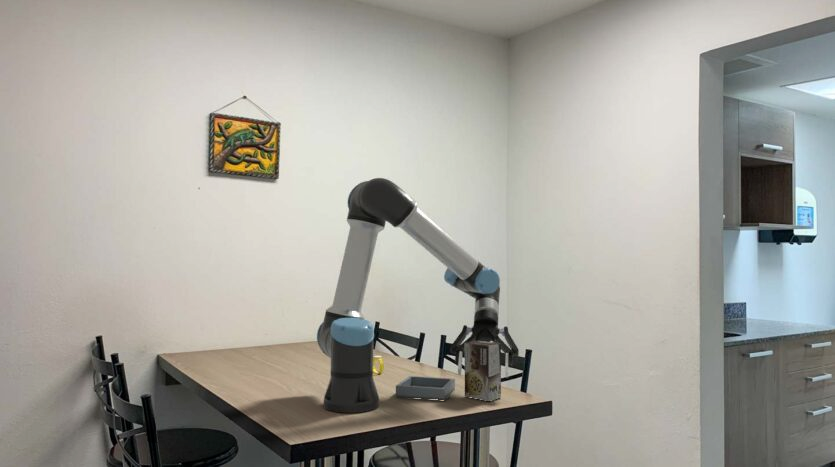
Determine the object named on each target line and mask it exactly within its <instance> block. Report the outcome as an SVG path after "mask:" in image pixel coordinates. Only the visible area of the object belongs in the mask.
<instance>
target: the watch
mask: <svg viewBox="0 0 835 467" xmlns="http://www.w3.org/2000/svg"><path fill="white" fill-rule="evenodd" d="M376 360H378V362H379V370H378V371H377V369H376V366H375V364H376V363H375V362H376ZM383 372H384V361H383V358H382V356H381V355H373V374H377V375H380V374H382V373H383Z"/></svg>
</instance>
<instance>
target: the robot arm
mask: <svg viewBox="0 0 835 467" xmlns="http://www.w3.org/2000/svg"><path fill="white" fill-rule="evenodd" d="M347 208H348V212H347V218H346V222H347V224H348V225H349V231H348V236H347V240H346V243H345V249H344V254H343V259H342V263H341V266H340V269H339V270H340V271H339V276H338V278H337V284H336V288H335V292H334V298H333V302H332V305H331V306H329V307H328V308H327V309H325V314H324V318H323V321H322V322H321V324H320V325H319V327H318V328H317V332H316V340H317V342H316V343H317V345H318V347H319V349H320V351H322V353H323V354H324V355H325V356H327V357H328V358H330V377H329V378H330V379H329V382H328V384H327V388H326V391H325V393H324V396H323V408H324V409H326V410H328V411H330V412H333V413H334V412H335V413H344V414H345V413H347V414H348V413H349V414H353V413H356V414H357V413H364V412H365V413H366V412H369V411H373V410H376V409H377V408H379V407H380V396H379V393H378V389H377V386H376V382H375V380H374V373H373V357H374V338H375V332H374V326H373V323H372V322H371V321H369V320H367V319H365V315H364V314H363V313H362V308H363V302H364V298H365V295H366V294H365V293H366V290H367V289H366V288H367V285H368V280H369V275H370V270H371V266H372V263H373V258H374V253H375V250H376V244H377V240H378V235H379V233H381V231H384V230H385V227H386V226H385V225H386V222H387V223H389V224H390V225H391V226H393V227H394V228H400V229H401V230H402V231H404V233H406V234H407V235H409V237H411V238H412V239H413V240H414V241H415V242H416V243H418V244H419V245H420V246H421V247H422V248H423V249H425V250H426V252H427V251H428V252H429V253H430V254H431V255H432V256H433V257H434V258H436V259H437V260H438V261H439V262H440V263H442V264H443V265H444V267H446V270H445V271H444V275H443V278H444V281H445V283H446V284H449V285H450V286H451V287H454V288H456V290H459V291H461V292H462V293H464V294H466V295H468V296H470V297H472V298H473V299H475V302H474V317H473V325H472V327H469V326H468V325H467V324H464V325H463V326H462V331H461V332H460V333H459V335H458V336H457V337H456V339H455V340H454V341H453V343H452V344H451V345H450V347H449V350H450V354H451V355H455V357H454V361H455V364H456V365H457V374H458V376H462V367H463V354H464V353H465V348H464V343H467V342H471V341H486V342H494V343H501V352H503V353H504V354H505V361H504V362H505V363H504V364H505V367H504V368H505V369H504V373H505V374H504V376H505V378H509V367H512V366H513V357H519V355H520V354H519V353H520V352H519V351H520V350H519V348H518V346H517V344H516V342H515V341H514V340H513V338H512V336H511V334H510V332H509V327H508V326H504V327H503V328H499V312H500V310H499V309H500V294H501V287H500V286H501V285H500V282H501V278H500V276H499V274H498V272H497V271H496V270H494V269H492V268H490V267H486V266H485V265H483V264H482V263H481V262H480V261H479V260H477V259H476V258H475V256H473V255H472V254H470V253H469V252H468V251H467V250H466V249H465V248H464V247H462V245H460V244H459V243H458V242H457V241H456V240H455V239H454V238H452V237H451V236H450V235H449V234H448V233H447V232H446V231H444V230H443V229H442V228H441V227H440V226H439V225H438V224H436V222H434V221H433V220H432V219H431V218H429V216H427V215H426V214H425V213H424V212H423V211H422V210H421V209H420V208H418V204H417V201H416V200H415V199H413V197H411V196H410V195H409V194H408V193H407V192H406V191H405V190H403V189H402V188H401V187H400V186H399V185H397V184H396V183H394V182H393V181H391V180H389V179H387V178H383V177H376V178H372V179H369V180H365V181H362V182H360V183H358V184H357V185H355V186H354V187H353V188H352V189H351V190H350V192H349V194H348V197H347ZM470 333H471V335H470ZM500 334H501V335H502V336H503V337H504V340H505V341H506V343H505V342H504V341H503V339H501V338H500V336H499V335H500ZM469 335H470V336H469ZM467 336H469V337H468V338H467V339H466V337H467ZM465 339H466V340H465ZM464 340H465V341H464Z"/></svg>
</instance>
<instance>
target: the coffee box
mask: <svg viewBox="0 0 835 467" xmlns="http://www.w3.org/2000/svg"><path fill="white" fill-rule="evenodd" d="M464 348H465V352H464V397H465V396H467V397H472V398H477V399H482V400H486V401H491V400H494V399H498V398H501V399H502V376H501V375H502V360H501V359H502V350H501V343H494V342H493V341H490V342H486V341H471V342H467V343H464ZM498 400H499V399H498ZM486 401H485V402H486ZM494 401H495V400H494ZM491 402H492V401H491Z"/></svg>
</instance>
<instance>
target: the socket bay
mask: <svg viewBox="0 0 835 467" xmlns="http://www.w3.org/2000/svg"><path fill="white" fill-rule="evenodd" d="M454 390H455V391H456V378H448V377H433V376H432V377H431V376H420V375H419V376H418V375H408V376H407V377H405V378H404V379H403V380H402V381H401V382H399V383H397V384H396V385H395V398H396V397H397V398H396V399H406V398H421V399H438V400H445V399H446V398H447V397H448V396H449V395H450V394H451V393H452V392H453V391H454ZM455 391H454V392H455ZM454 392H453V393H454ZM453 393H452V394H453ZM452 394H451V395H452ZM451 395H450V396H451ZM450 396H449V397H450ZM449 397H448V398H449ZM448 398H447V399H448ZM447 399H446V400H447ZM446 400H445V401H446Z"/></svg>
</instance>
